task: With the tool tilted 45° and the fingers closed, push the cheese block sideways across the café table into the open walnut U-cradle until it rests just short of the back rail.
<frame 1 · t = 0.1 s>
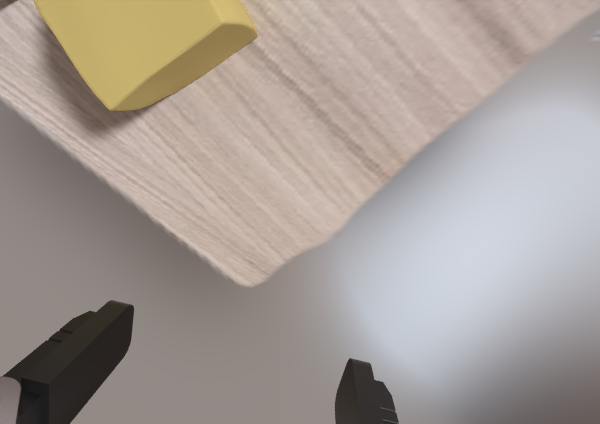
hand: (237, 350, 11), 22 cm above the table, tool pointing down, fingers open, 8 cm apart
cheese: (184, 15, 27), on the table
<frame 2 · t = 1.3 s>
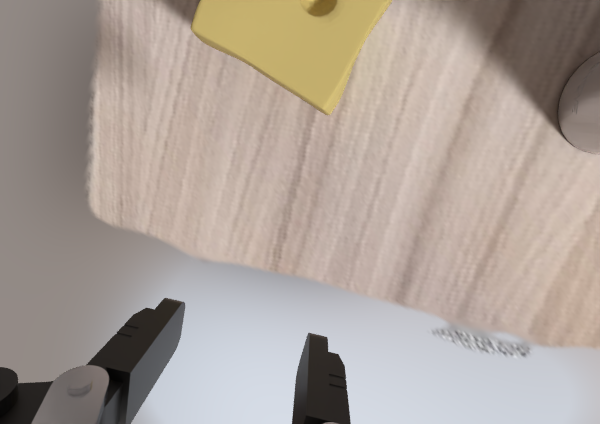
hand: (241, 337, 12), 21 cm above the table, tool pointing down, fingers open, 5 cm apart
cheese: (306, 37, 29), on the table
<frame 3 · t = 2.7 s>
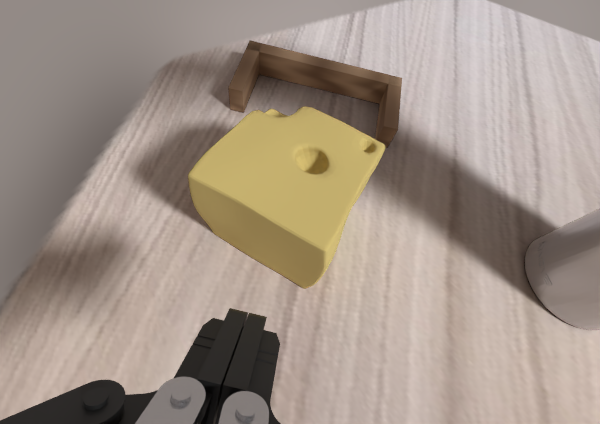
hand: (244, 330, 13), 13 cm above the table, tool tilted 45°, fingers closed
walnut cradle: (315, 101, 37), on the table
cheese: (285, 222, 30), on the table
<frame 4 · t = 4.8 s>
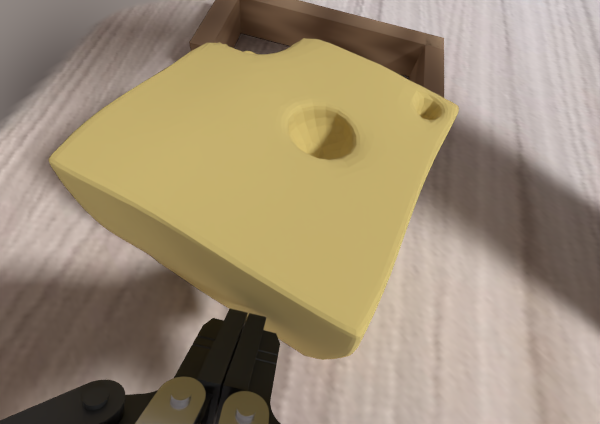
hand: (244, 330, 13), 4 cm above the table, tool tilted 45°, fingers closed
walnut cradle: (320, 71, 26), on the table
cheese: (274, 241, 19), on the table, touching gripper
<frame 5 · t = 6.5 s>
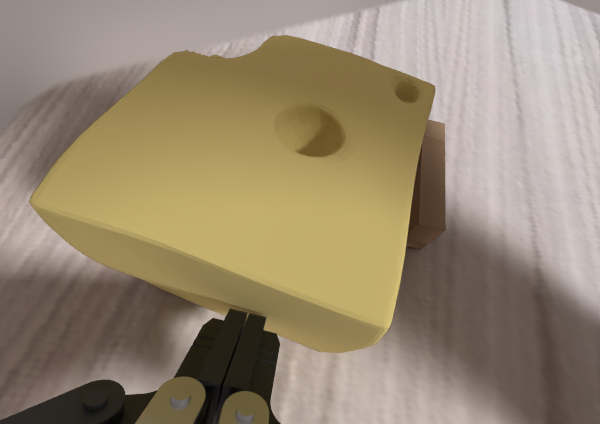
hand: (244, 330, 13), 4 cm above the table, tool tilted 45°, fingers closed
walnut cradle: (296, 161, 22), on the table
cheese: (268, 243, 19), on the table, touching gripper
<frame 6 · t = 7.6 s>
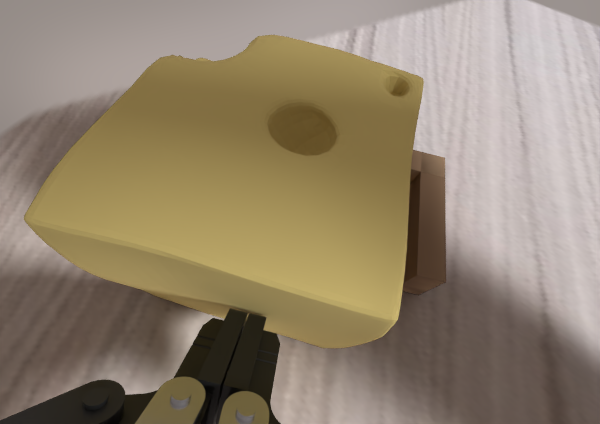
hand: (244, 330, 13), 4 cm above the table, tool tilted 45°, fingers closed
walnut cradle: (286, 197, 20), on the table
cheese: (265, 244, 19), on the table, touching gripper
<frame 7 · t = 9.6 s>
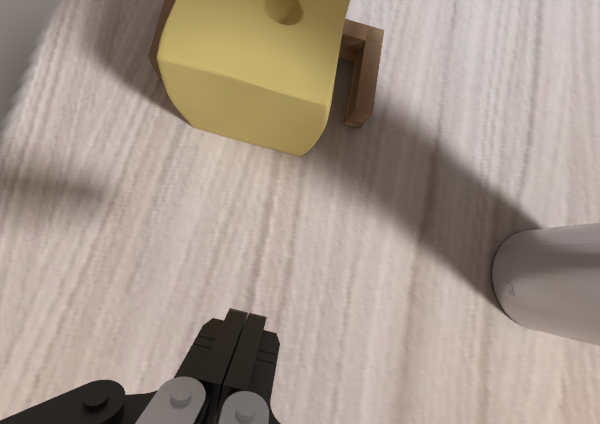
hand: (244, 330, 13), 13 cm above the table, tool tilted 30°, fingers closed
walnut cradle: (272, 62, 29), on the table
cheese: (260, 96, 28), on the table
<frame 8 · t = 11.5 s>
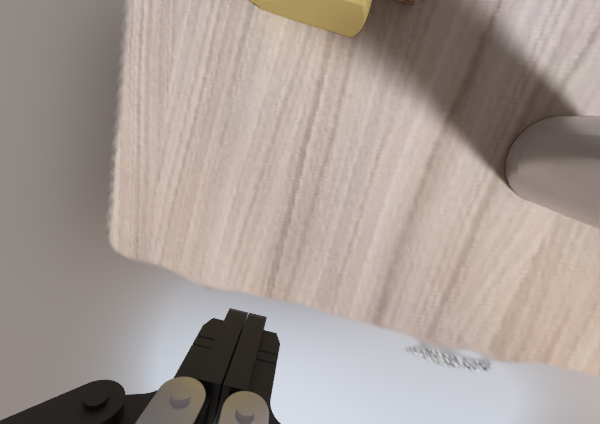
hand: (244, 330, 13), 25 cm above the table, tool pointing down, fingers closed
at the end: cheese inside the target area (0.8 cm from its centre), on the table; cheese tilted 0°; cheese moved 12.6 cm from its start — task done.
